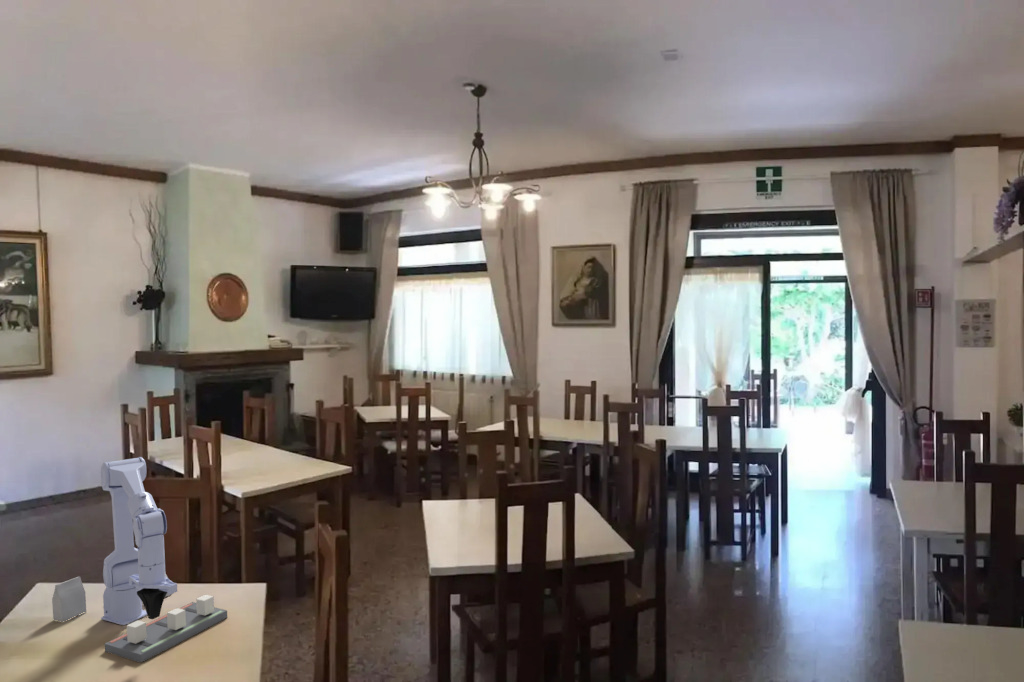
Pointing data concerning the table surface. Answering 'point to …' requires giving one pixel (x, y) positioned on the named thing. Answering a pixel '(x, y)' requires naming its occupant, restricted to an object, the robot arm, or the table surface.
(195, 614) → the panel
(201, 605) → the switch far
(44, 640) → the table surface
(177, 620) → the switch middle
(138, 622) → the switch
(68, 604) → the grey paper bag
